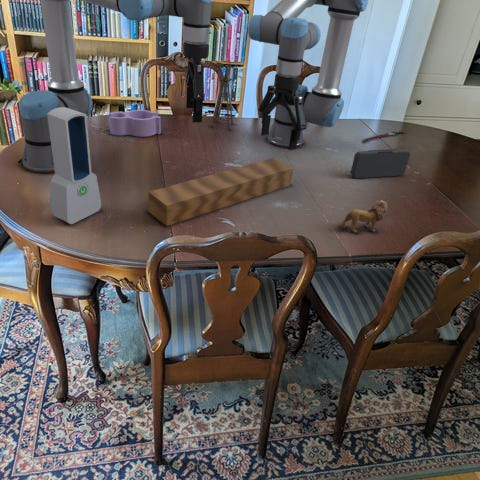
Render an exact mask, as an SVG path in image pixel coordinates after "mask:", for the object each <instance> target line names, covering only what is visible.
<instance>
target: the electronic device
mask: <svg viewBox="0 0 480 480" xmlns="http://www.w3.org/2000/svg"><path fill="white" fill-rule="evenodd" d="M47 117H48V124H49V132H50V139H51V147H52V154H53V162H54V169H55V172H54V174H53V176H52V178H51V179H50V190H49V191H50V192H49V195H50V196H49V210H50V212H51V214H52V216H54V217H55V218H57V219H59V220H61V221H63V222H65V223H68V224H69V225H74V224H76V223H77V222H80V221H81V220H83V219H85V218H87V217H90V216H91V215H93V214H96V213H98V212H99V211H100V210H101V207H102V200H101V193H100V188H99V183H98V177H97V174H95V172H92V163H91V151H90V142H89V141H90V140H89V129H88V119H87V117H88V116H86V114H84V113H81V112H78V111H75V110H72V109H69V108H65V107H59V108H55V109H53V110H51V111H50V112H49V113H47Z"/></svg>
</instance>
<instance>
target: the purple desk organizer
mask: <svg viewBox="0 0 480 480" xmlns="http://www.w3.org/2000/svg"><path fill="white" fill-rule="evenodd" d="M108 126H109V127H108V128H109V131H110V135H113V136H133V137H141V138H143V137H151V136H152V137H153V136H154V135H160V134H162V117H161V116H159V111H157V110H155V111H152V110H147V109H132V110H129V111H112V112H111V111H110V112H109V113H108Z"/></svg>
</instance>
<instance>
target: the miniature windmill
mask: <svg viewBox="0 0 480 480" xmlns="http://www.w3.org/2000/svg"><path fill="white" fill-rule="evenodd" d="M229 57H232V55H231V54H229ZM215 64H216V65H215V68H216V69H217V68H218V69H220V68H221V69H222V68H225V71H224V75H223V76H222V77H221V78H220V79H219V81H221V82H222V83H221V85H220V90H219V93H218V96H217V100H216V105H215V108H214V112H213V117H212V120H211V124H210V127H211V128H212V127H213V125H214V122H217V121H223V122H227V130H230V123H231V125H234V120H233V117H234V115H233V111H232V103H231V102H232V101H231V92H230V83H229V82H232V81H233V78H231V77H230V75H231V71H232V70H231V69H232V58H228V59H227V64H224V63H221V62H218V61H216V63H215ZM224 88H226V93H223V91H224ZM223 95H224V96H223ZM222 98H224V99H226V103H225V102H221V100H222ZM220 105H225V106H226V107H224V106H220ZM220 109H226V114H224V113H219V112H220ZM219 115H220V116H224V117H225V116H226V119H221V118H218V116H219ZM230 121H231V122H230Z"/></svg>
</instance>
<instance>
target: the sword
mask: <svg viewBox="0 0 480 480" xmlns="http://www.w3.org/2000/svg"><path fill="white" fill-rule="evenodd" d="M398 131H399V133H398V132H397V131H391V132H388V133H384V134H378V135H375V136H370V137H367V138H365V139H363V143H366V142H368V141H371V140H375V139H379V138H383V137H388V136H395V135H397V134H402V133H404V132H401V131H402V130H398Z"/></svg>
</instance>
